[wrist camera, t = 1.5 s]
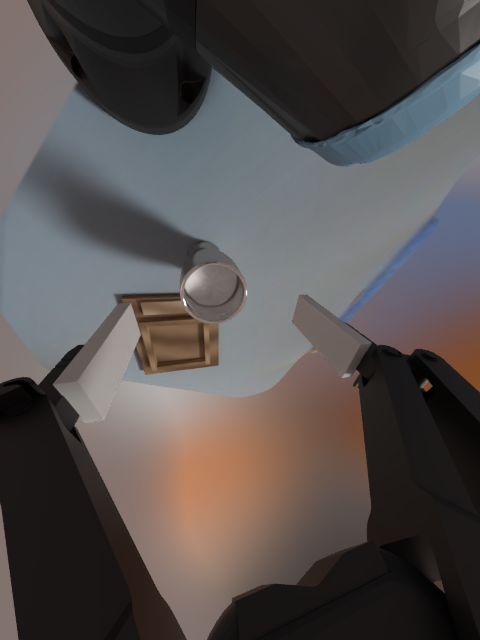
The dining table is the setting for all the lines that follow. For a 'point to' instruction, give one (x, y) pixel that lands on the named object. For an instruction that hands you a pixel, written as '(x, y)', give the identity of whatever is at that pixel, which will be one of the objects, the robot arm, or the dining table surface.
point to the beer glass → (211, 285)
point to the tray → (172, 335)
